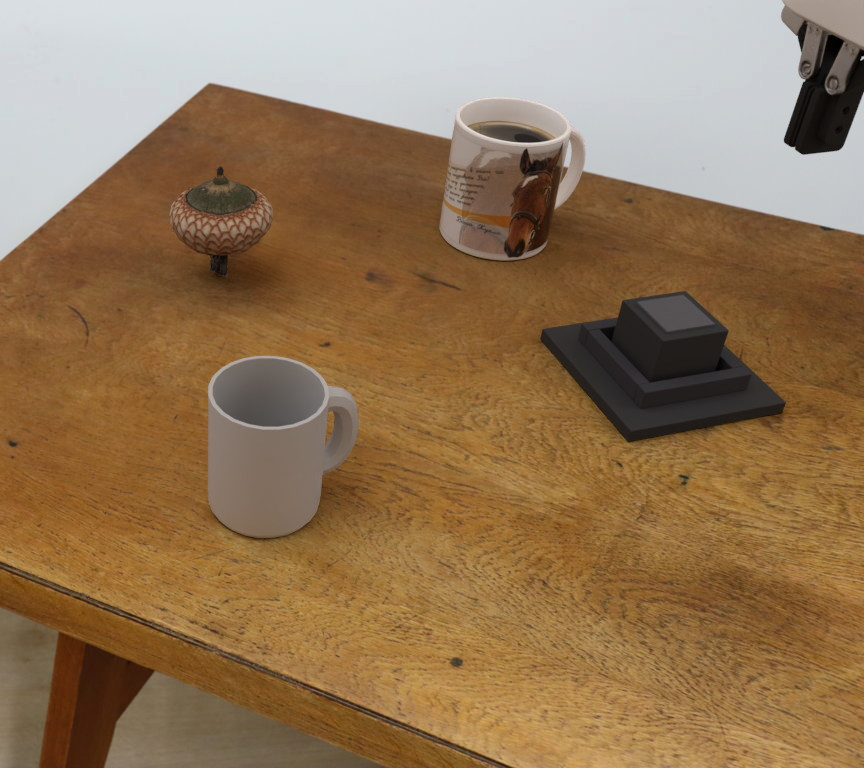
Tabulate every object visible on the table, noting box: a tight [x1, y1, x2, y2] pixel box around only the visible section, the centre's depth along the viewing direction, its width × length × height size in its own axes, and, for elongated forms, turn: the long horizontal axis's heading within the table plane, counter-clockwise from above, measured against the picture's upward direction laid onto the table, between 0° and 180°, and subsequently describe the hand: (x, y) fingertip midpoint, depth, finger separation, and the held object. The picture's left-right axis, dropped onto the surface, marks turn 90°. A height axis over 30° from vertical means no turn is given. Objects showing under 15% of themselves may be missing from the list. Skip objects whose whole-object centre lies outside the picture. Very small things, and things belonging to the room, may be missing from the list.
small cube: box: [611, 290, 730, 383], centre depth 82 cm, size 6×6×5 cm
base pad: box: [539, 316, 787, 443], centre depth 83 cm, size 13×13×2 cm
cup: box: [207, 355, 360, 539], centre depth 69 cm, size 7×10×9 cm
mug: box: [438, 96, 587, 262], centre depth 97 cm, size 10×12×11 cm
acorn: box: [168, 165, 274, 278], centre depth 90 cm, size 8×8×10 cm
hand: (812, 146), depth 68 cm, fingers closed
